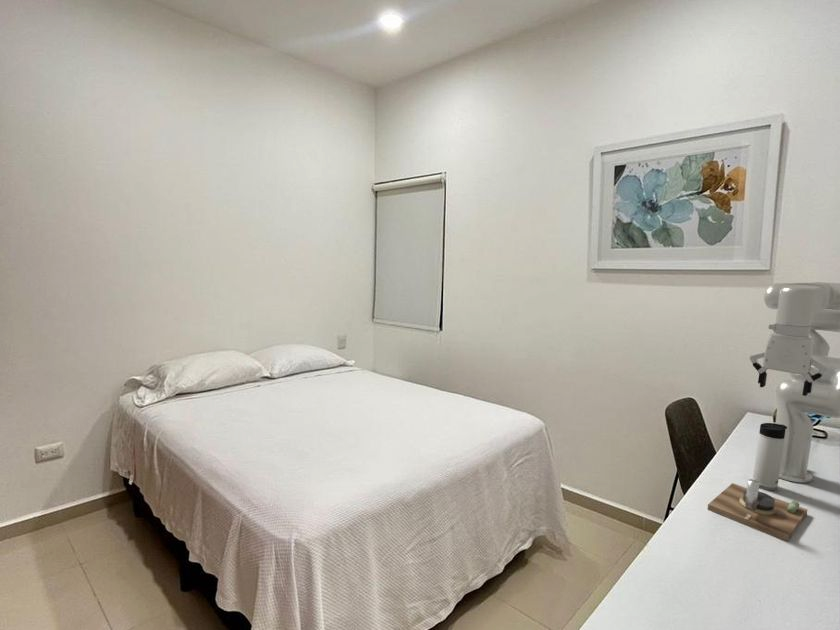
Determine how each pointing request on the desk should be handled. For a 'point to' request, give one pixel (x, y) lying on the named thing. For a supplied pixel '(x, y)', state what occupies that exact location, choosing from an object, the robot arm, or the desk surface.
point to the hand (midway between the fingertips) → (783, 390)
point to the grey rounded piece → (757, 497)
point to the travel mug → (769, 455)
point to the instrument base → (759, 513)
